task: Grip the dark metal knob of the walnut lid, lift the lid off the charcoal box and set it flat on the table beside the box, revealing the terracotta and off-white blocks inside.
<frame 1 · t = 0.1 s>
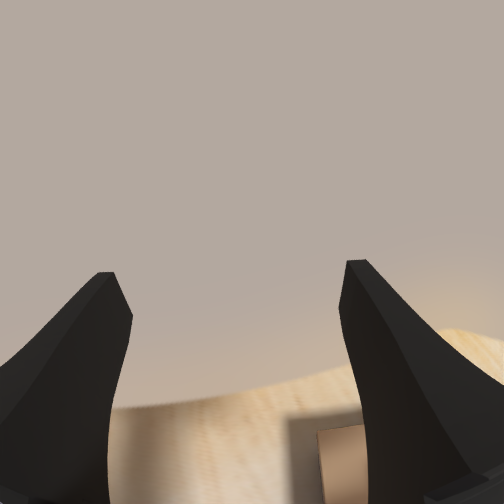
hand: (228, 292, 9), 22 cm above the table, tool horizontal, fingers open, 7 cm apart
lid: (423, 496, 14), point 4 cm above the table, touching box
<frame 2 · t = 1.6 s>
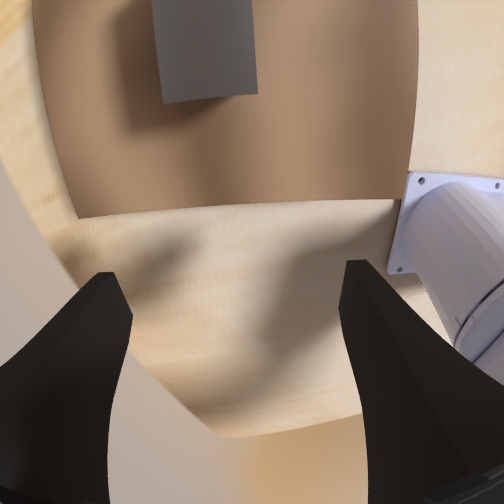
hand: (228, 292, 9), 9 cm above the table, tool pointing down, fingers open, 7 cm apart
lid: (218, 21, 9), point 4 cm above the table, touching box
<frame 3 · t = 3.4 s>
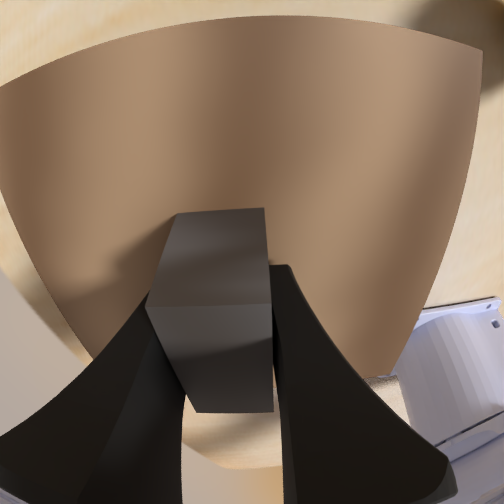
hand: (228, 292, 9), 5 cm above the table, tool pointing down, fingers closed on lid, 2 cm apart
lid: (230, 262, 11), point 4 cm above the table, touching box, gripper
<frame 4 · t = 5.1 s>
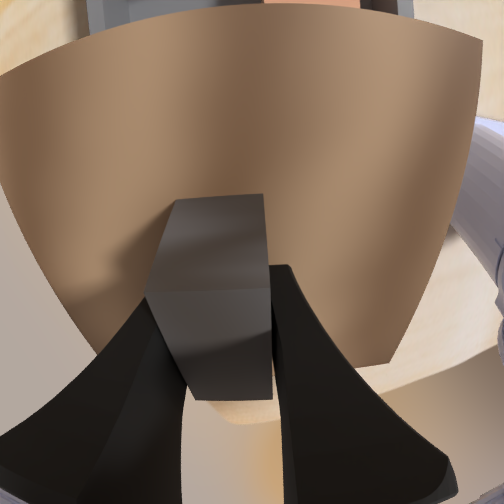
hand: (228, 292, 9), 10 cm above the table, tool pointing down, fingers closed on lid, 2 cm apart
terracotta block: (301, 5, 11), point 1 cm above the table, touching box
lid: (229, 249, 11), point 9 cm above the table, touching gripper
when the fingers open (3 cm above the table, at t = 7.2 s): lid drops 2 cm, on the table.
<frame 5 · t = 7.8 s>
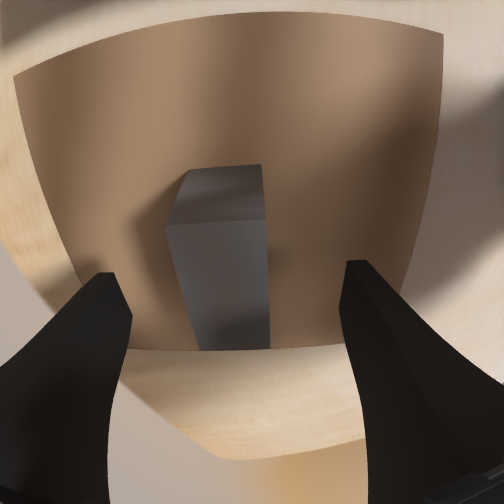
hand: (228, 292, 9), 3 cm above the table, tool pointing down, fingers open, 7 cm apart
lid: (232, 218, 12), on the table
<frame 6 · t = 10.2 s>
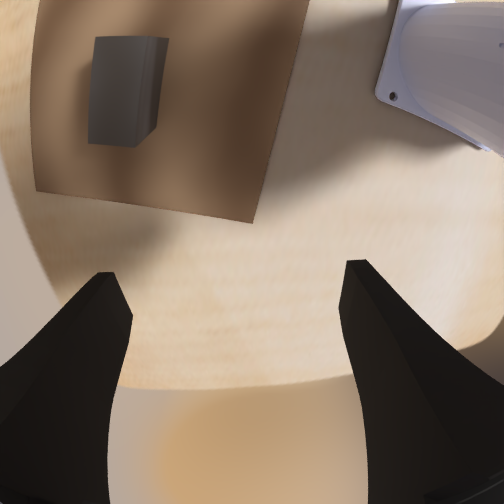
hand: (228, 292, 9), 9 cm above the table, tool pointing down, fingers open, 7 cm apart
lid: (145, 80, 14), on the table
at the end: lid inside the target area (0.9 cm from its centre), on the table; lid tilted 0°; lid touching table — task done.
